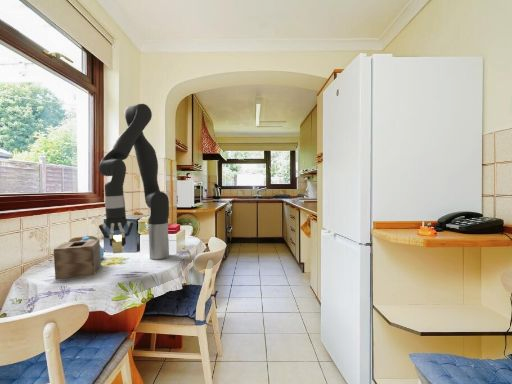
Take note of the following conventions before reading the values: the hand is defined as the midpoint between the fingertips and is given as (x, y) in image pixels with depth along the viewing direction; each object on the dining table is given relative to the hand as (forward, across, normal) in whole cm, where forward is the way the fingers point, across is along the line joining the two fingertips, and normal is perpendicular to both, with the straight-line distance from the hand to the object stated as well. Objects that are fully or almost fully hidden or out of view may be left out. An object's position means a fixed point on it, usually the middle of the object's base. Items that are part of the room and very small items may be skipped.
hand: (118, 246), depth 123 cm
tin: (+11, +23, -48) cm, 54 cm away
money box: (+11, +17, -8) cm, 21 cm away
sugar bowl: (+11, +17, -26) cm, 33 cm away
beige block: (+1, 0, 0) cm, 1 cm away
